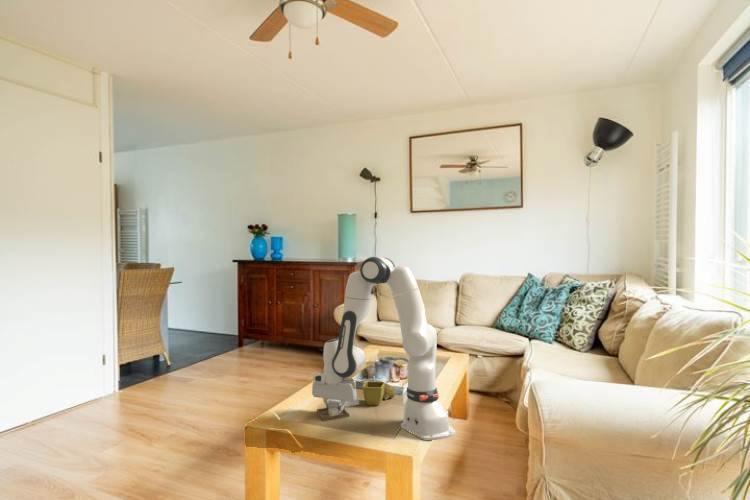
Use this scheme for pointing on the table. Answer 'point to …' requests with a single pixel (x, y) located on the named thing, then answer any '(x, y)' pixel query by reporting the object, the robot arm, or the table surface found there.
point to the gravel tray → (325, 416)
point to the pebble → (334, 404)
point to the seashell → (388, 392)
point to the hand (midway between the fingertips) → (334, 409)
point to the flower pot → (373, 392)
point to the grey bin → (351, 403)
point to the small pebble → (333, 412)
